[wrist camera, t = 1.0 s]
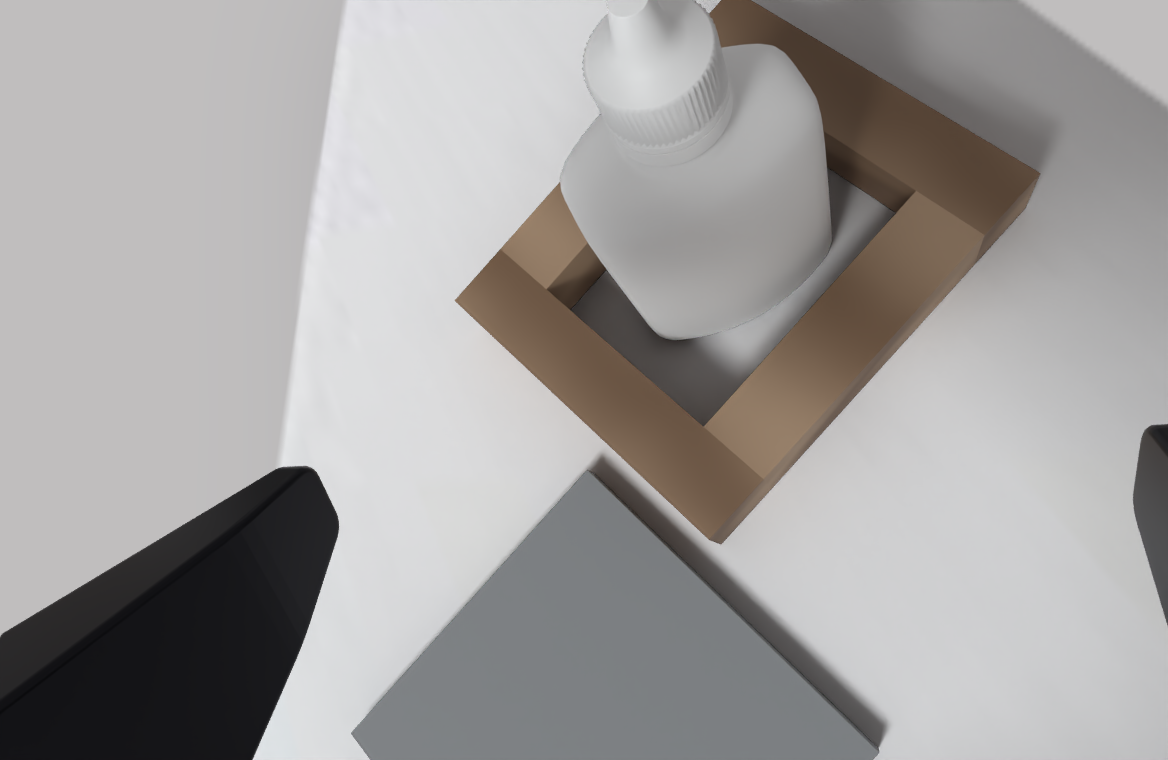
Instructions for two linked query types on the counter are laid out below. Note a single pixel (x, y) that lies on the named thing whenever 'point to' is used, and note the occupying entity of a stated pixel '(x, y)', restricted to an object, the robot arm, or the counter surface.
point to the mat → (603, 662)
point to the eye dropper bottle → (697, 169)
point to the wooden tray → (820, 338)
